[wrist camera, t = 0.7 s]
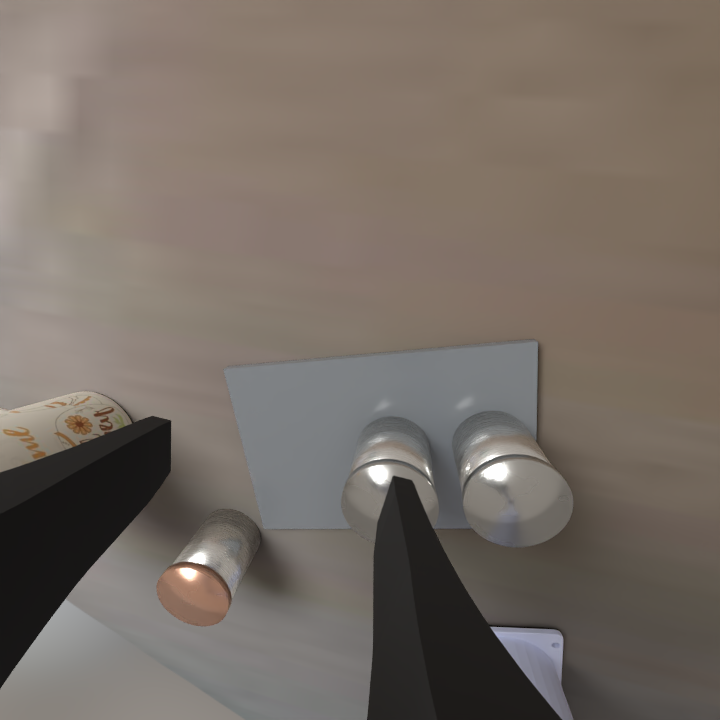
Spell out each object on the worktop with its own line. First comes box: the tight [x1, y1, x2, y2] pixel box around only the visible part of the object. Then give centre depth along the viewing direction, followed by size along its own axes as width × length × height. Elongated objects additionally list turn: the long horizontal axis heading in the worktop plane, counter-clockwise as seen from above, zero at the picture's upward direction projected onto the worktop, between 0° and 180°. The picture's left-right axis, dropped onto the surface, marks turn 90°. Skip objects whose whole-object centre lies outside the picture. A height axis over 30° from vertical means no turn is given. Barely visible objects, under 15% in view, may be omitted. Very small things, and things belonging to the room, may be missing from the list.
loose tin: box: [157, 509, 261, 626], centre depth 23 cm, size 5×5×5 cm
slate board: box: [223, 339, 538, 529], centre depth 21 cm, size 12×18×1 cm, turn 98°
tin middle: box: [341, 416, 439, 543], centre depth 18 cm, size 5×5×5 cm
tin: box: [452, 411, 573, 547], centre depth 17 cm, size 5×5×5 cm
